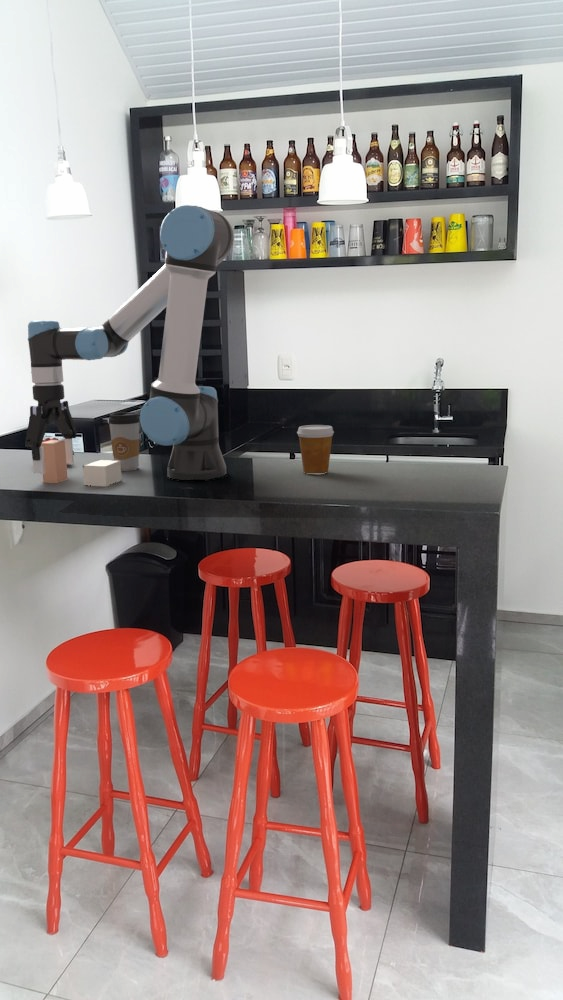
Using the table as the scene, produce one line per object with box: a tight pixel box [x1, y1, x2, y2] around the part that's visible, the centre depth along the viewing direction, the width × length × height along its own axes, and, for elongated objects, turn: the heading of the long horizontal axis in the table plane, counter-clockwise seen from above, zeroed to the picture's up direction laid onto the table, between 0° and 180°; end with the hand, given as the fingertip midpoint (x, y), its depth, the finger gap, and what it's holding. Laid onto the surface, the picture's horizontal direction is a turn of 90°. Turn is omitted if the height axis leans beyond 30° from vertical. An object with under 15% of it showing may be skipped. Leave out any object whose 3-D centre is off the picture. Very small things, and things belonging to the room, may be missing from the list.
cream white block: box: [82, 459, 122, 487], centre depth 207 cm, size 6×8×5 cm
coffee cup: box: [108, 411, 140, 472], centre depth 224 cm, size 8×8×15 cm
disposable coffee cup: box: [296, 424, 335, 473], centre depth 214 cm, size 10×10×12 cm
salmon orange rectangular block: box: [40, 439, 68, 484], centre depth 210 cm, size 4×5×10 cm
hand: (54, 468), depth 210 cm, fingers open, 13 cm apart
